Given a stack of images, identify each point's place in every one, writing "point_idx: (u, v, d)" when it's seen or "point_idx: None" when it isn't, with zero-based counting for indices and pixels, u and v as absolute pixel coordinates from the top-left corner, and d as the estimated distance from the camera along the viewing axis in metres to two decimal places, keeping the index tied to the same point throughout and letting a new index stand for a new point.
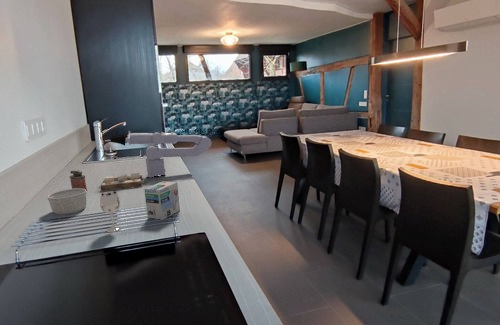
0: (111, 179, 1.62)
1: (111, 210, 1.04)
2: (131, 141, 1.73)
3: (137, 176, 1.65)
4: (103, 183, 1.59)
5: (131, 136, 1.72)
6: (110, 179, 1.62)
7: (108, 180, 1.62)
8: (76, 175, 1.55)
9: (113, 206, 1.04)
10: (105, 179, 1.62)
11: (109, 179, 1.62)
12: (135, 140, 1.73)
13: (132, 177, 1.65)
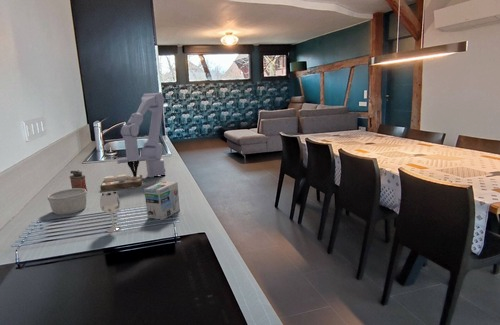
0: (111, 179, 1.62)
1: (111, 210, 1.04)
2: None
3: (137, 178, 1.66)
4: (103, 183, 1.59)
5: (137, 156, 1.64)
6: (110, 179, 1.62)
7: (108, 180, 1.62)
8: (76, 175, 1.55)
9: (113, 206, 1.04)
10: (105, 179, 1.62)
11: (109, 179, 1.62)
12: None
13: None
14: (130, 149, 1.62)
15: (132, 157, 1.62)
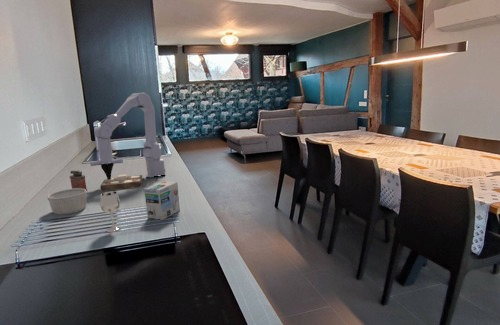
0: (111, 181, 1.63)
1: (111, 210, 1.04)
2: None
3: None
4: (103, 183, 1.59)
5: (111, 158, 1.61)
6: (110, 181, 1.62)
7: None
8: (76, 175, 1.55)
9: (113, 206, 1.04)
10: (105, 181, 1.62)
11: (109, 181, 1.62)
12: None
13: None
14: (101, 151, 1.59)
15: (105, 159, 1.59)
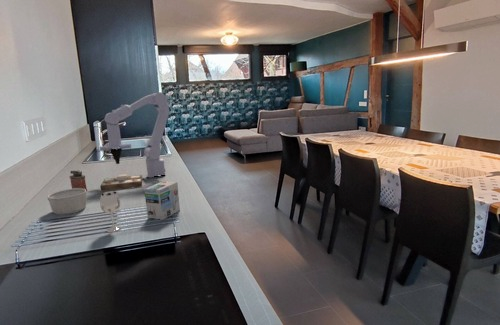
0: None
1: (111, 210, 1.04)
2: None
3: None
4: (103, 183, 1.59)
5: (120, 144, 1.68)
6: None
7: None
8: (76, 175, 1.55)
9: (113, 206, 1.04)
10: None
11: None
12: (120, 139, 1.69)
13: None
14: (109, 137, 1.65)
15: (114, 144, 1.66)
